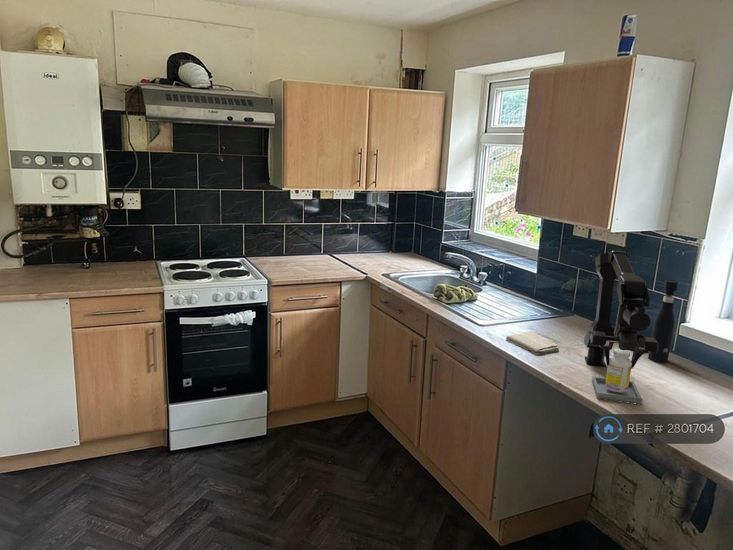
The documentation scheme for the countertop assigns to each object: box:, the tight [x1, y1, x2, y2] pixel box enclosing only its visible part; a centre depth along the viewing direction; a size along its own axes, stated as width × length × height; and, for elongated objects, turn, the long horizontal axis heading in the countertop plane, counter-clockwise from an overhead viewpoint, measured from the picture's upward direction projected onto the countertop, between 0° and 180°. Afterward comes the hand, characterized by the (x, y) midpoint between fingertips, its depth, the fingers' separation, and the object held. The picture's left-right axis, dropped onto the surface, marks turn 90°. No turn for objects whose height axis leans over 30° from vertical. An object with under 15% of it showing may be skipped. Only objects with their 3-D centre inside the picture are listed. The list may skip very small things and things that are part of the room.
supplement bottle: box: [605, 347, 632, 393], centre depth 171 cm, size 7×7×13 cm
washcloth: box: [505, 331, 560, 356], centre depth 211 cm, size 12×18×3 cm, turn 29°
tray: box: [591, 375, 643, 405], centre depth 173 cm, size 13×13×2 cm
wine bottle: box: [647, 279, 679, 364], centre depth 197 cm, size 6×6×30 cm
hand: (619, 366), depth 171 cm, fingers closed on supplement bottle, 6 cm apart
